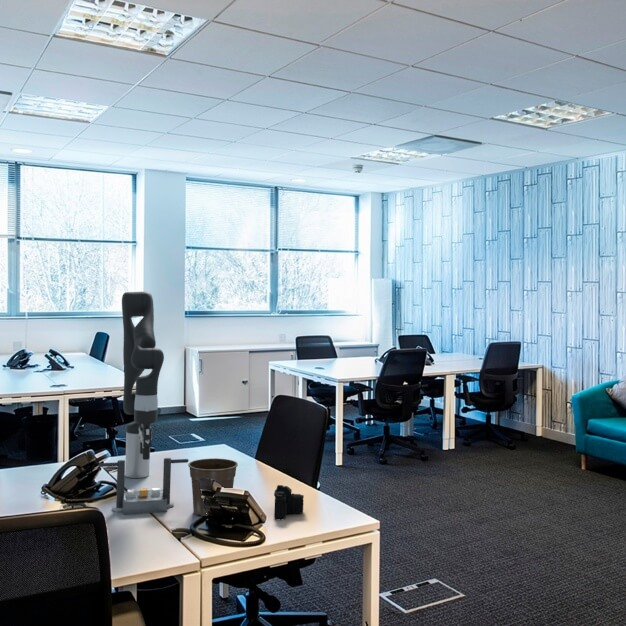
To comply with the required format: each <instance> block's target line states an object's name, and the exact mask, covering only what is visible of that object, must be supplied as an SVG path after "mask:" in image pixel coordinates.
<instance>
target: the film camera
mask: <svg viewBox="0 0 626 626" xmlns="http://www.w3.org/2000/svg"><path fill="white" fill-rule="evenodd" d="M273 496H274V512H273V514H274V515H273V518H274V520H276V519H283V520H285V518H286V517H287V515H290V514H301V513H304V497H305V495H303V494H300V493H293V492H292V489H291V488H290V487H289V486H288V485H282V484H277V485H276V489H274V493H273ZM287 513H288V514H287Z"/></svg>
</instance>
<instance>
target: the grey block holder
mask: <svg viewBox="0 0 626 626" xmlns="http://www.w3.org/2000/svg"><path fill="white" fill-rule="evenodd" d="M166 512H168V508H167V497H166V495H163V488H162V489H161V488H160V487H152V488H151V490H150V489H149V490H148V496H143V497H140V490H136V489H133V488H132V489H127V491H124V497H123V498H122V515H123V516H127V515H137V514H138V515H140V514H152V513H153V514H154V513H166Z"/></svg>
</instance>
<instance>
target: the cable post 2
mask: <svg viewBox="0 0 626 626" xmlns="http://www.w3.org/2000/svg"><path fill="white" fill-rule="evenodd" d="M182 463H183V464H184V463H185V464H187V463H189V459H188V458H180V459H178V458H177V459H172V458H171V457H165V458H163V470H162V471H163V475H162V477H163V478H162V489H163V495H166V497H167V509H171V508H173V507H174V506H175V504H174V502H172V501H171V477H172V476H171V474H172V473H171V471H172V464H182Z"/></svg>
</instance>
